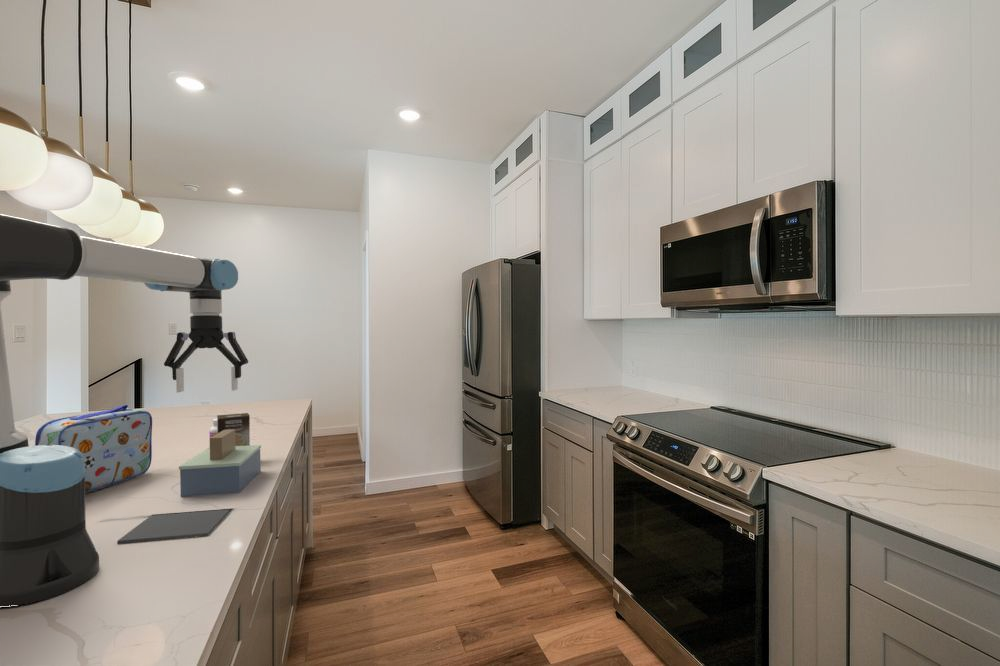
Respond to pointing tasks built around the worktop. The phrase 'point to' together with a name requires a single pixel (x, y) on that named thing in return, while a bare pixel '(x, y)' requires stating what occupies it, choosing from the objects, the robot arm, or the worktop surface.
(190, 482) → the storage box
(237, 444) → the coffee box
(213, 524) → the mat
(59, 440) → the lunch box
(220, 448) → the lid
